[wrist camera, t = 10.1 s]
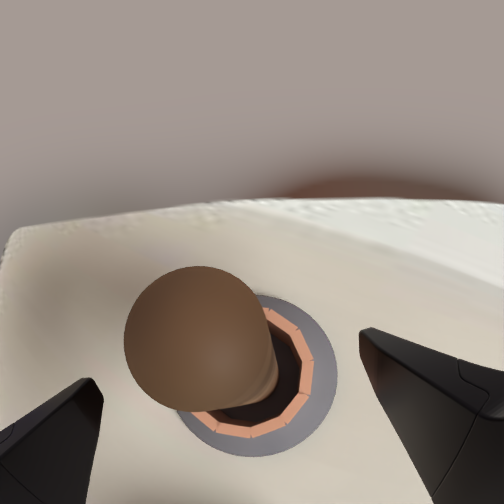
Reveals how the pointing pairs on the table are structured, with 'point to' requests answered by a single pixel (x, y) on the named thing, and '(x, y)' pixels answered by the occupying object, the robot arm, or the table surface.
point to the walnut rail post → (200, 342)
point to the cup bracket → (278, 391)
